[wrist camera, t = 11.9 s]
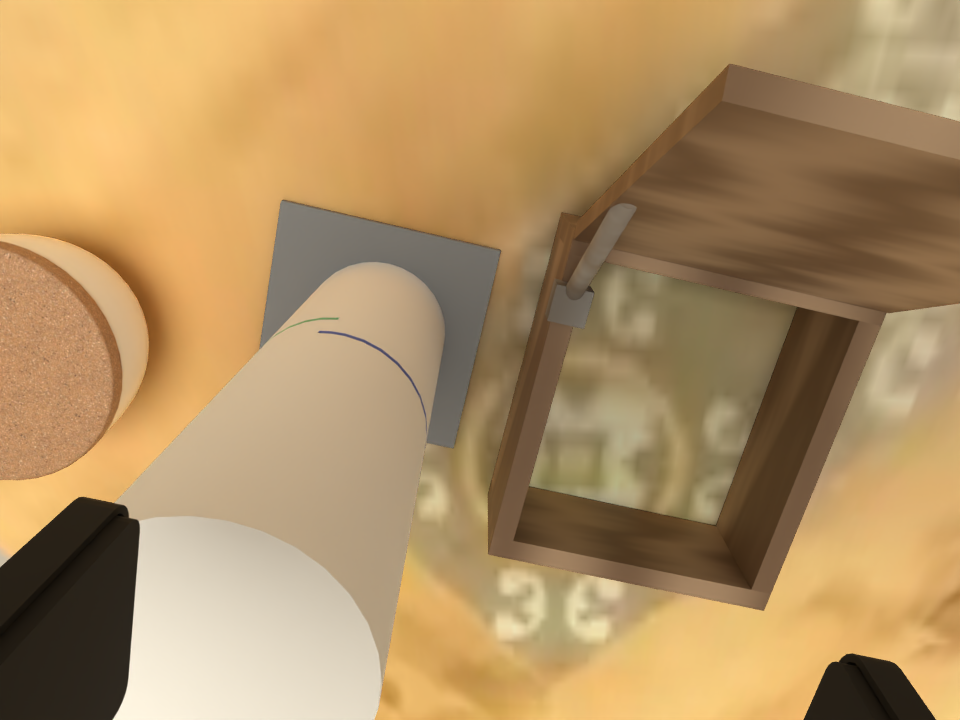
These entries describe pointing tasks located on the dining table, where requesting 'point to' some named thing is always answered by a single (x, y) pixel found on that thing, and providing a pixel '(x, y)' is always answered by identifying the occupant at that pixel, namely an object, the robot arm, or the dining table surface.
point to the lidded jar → (62, 353)
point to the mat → (433, 259)
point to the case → (751, 271)
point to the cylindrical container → (289, 515)
